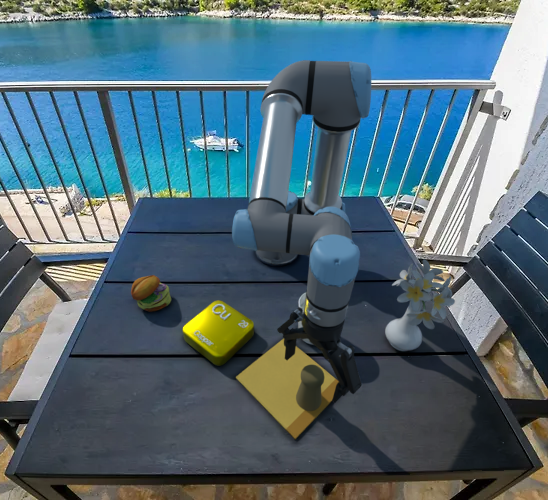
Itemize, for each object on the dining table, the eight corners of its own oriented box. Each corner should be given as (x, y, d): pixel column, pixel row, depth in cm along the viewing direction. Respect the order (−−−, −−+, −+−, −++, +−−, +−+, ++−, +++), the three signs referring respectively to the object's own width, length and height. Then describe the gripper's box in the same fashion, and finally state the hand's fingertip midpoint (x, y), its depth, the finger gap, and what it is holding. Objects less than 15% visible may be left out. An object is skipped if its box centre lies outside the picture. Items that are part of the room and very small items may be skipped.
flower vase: (383, 371, 88) (410, 304, 73) (372, 316, 103) (393, 249, 87) (436, 377, 87) (476, 310, 72) (418, 320, 101) (448, 253, 86)
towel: (285, 338, 97) (285, 336, 96) (344, 387, 85) (345, 386, 85) (235, 378, 87) (235, 376, 87) (295, 439, 75) (295, 438, 75)
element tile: (180, 338, 96) (178, 327, 93) (218, 307, 105) (217, 296, 102) (219, 369, 89) (218, 358, 86) (257, 332, 98) (257, 321, 95)
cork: (293, 387, 84) (296, 361, 78) (318, 385, 85) (323, 358, 78) (298, 412, 80) (302, 385, 73) (324, 409, 80) (330, 383, 73)
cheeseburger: (165, 316, 102) (151, 292, 97) (134, 317, 106) (119, 293, 100) (178, 292, 110) (165, 268, 104) (149, 293, 113) (135, 270, 108)
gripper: (262, 286, 68) (261, 350, 82) (372, 370, 54) (349, 430, 68) (288, 269, 72) (283, 332, 86) (397, 343, 58) (371, 405, 72)
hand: (312, 376), depth 77 cm, fingers open, 13 cm apart
